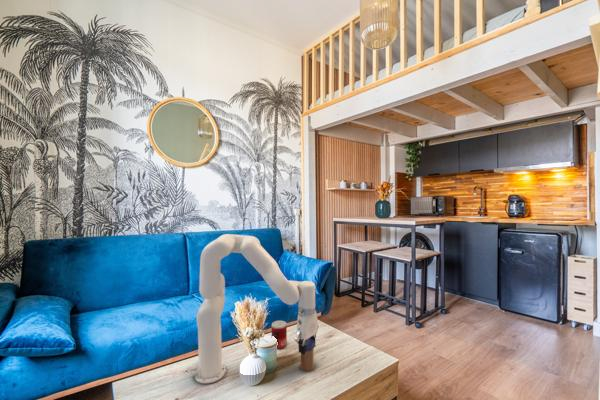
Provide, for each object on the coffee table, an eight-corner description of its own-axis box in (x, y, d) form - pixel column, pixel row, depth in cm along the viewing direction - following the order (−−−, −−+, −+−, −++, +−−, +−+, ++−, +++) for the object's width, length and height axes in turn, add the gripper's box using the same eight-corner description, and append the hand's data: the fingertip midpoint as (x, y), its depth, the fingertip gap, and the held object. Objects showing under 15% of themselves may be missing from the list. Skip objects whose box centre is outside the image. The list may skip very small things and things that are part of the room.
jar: (303, 372, 120) (303, 347, 120) (299, 364, 125) (298, 340, 125) (315, 369, 122) (315, 344, 122) (310, 362, 127) (310, 338, 127)
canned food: (287, 341, 146) (287, 320, 146) (285, 349, 138) (285, 327, 138) (273, 340, 146) (273, 320, 146) (270, 349, 139) (270, 327, 138)
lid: (317, 345, 124) (317, 340, 124) (309, 352, 119) (309, 347, 119) (305, 341, 128) (305, 336, 128) (296, 347, 123) (296, 342, 123)
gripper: (300, 319, 114) (301, 361, 115) (325, 305, 127) (325, 344, 128) (287, 314, 119) (287, 355, 119) (312, 301, 132) (312, 338, 133)
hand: (307, 349), depth 124 cm, fingers closed on lid, 6 cm apart
